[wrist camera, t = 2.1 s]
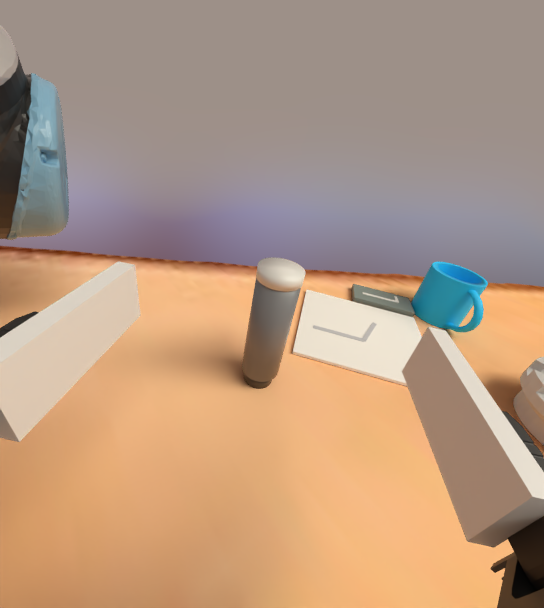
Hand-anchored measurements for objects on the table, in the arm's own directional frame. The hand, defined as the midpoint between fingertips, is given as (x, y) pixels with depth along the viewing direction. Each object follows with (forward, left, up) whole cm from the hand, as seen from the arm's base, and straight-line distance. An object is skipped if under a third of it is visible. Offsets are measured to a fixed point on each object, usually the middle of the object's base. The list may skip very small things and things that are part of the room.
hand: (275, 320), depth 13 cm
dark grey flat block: (+15, +34, -15) cm, 40 cm away
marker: (-1, +10, -15) cm, 18 cm away
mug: (+25, +33, -15) cm, 44 cm away
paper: (+11, +23, -15) cm, 30 cm away
